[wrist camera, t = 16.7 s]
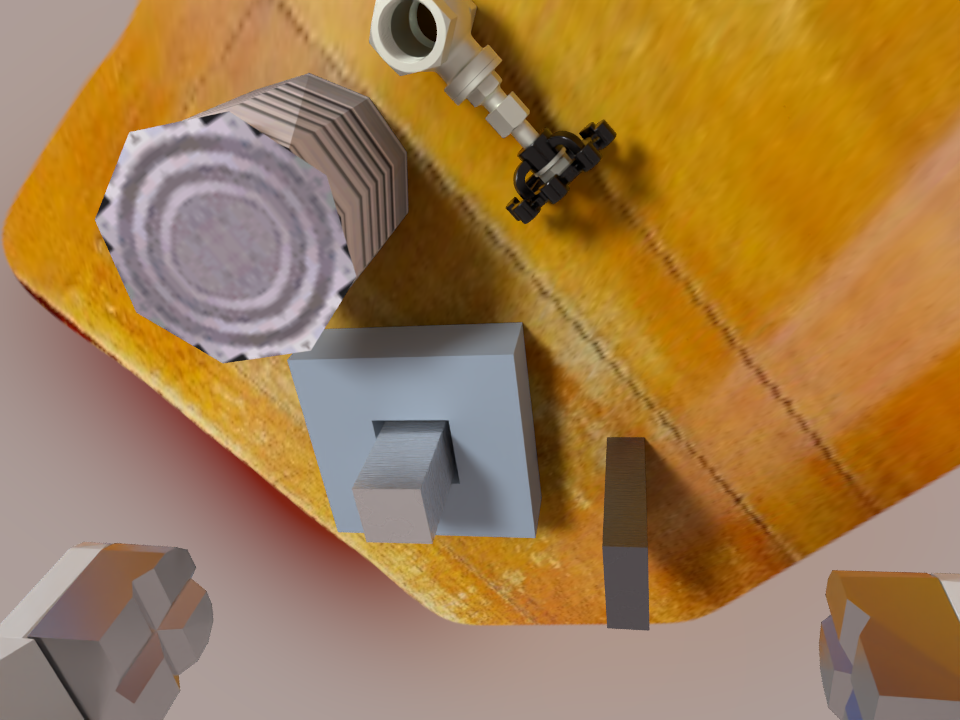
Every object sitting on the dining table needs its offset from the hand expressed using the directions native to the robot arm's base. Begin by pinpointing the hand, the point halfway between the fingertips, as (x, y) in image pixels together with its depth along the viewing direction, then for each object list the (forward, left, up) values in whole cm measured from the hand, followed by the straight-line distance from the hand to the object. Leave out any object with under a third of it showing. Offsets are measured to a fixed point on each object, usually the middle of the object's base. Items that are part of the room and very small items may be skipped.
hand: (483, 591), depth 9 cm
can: (+16, +3, -33) cm, 37 cm away
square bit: (+12, +20, -33) cm, 40 cm away
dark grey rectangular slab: (-1, +25, -33) cm, 42 cm away
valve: (+5, -1, -34) cm, 34 cm away
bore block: (+12, +20, -33) cm, 40 cm away
